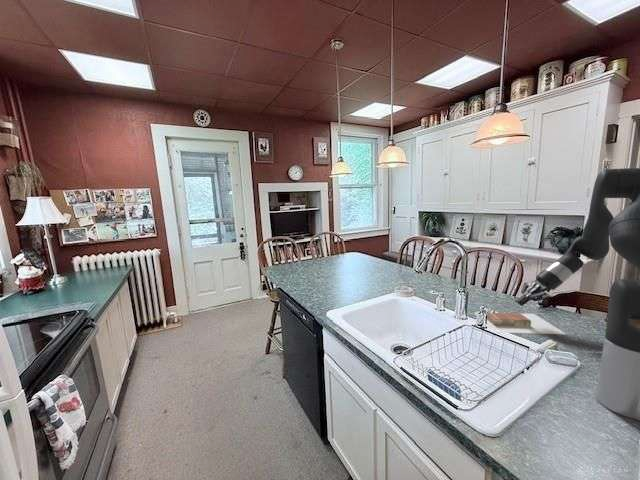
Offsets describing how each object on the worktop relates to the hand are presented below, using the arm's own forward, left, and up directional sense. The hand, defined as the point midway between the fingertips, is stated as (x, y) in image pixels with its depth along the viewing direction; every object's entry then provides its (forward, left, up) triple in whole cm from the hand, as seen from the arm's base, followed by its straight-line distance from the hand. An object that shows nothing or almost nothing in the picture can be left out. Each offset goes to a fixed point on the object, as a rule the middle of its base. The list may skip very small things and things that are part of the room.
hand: (518, 303), depth 110 cm
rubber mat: (0, 0, -9) cm, 9 cm away
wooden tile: (-2, -3, -7) cm, 8 cm away
